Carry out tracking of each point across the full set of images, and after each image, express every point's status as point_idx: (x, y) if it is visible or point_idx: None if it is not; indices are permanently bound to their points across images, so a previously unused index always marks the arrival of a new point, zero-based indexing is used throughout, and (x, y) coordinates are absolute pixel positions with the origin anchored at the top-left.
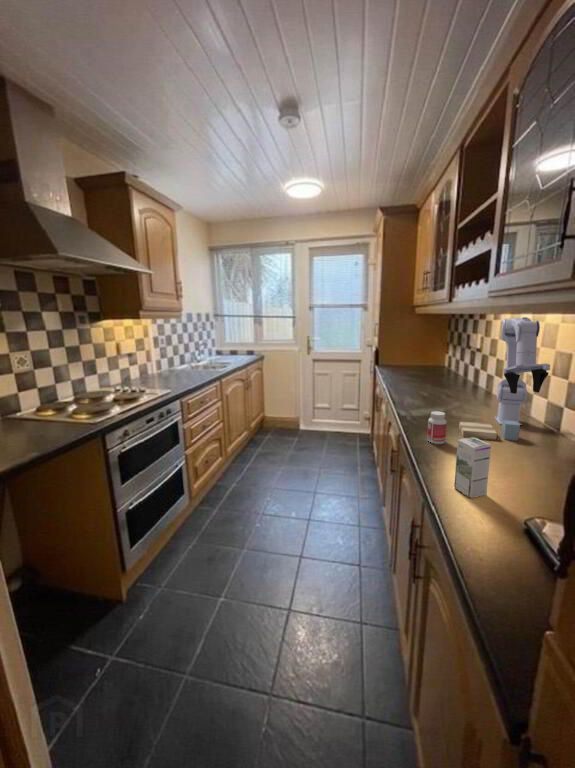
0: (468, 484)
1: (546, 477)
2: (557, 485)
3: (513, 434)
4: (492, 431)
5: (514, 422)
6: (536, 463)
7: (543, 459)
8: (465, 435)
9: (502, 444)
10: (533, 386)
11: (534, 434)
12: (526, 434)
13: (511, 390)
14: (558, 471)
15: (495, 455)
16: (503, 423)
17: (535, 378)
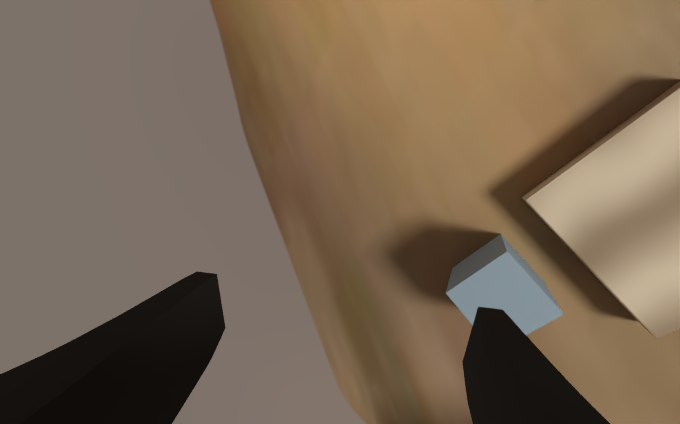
0: None
1: (248, 22)
2: (215, 2)
3: (469, 262)
4: (561, 209)
5: None
6: (306, 95)
7: (310, 150)
8: (674, 85)
9: (469, 164)
10: (169, 301)
11: (448, 397)
12: None
13: (497, 321)
14: (251, 97)
15: (419, 20)
16: (542, 288)
17: (16, 385)
